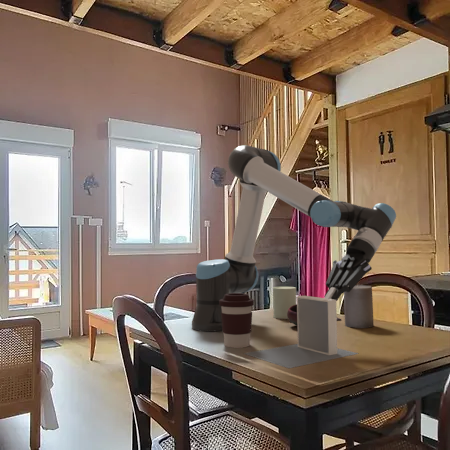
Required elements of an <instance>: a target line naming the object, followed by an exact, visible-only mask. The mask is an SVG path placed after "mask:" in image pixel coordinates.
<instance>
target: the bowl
mask: <svg viewBox="0 0 450 450" xmlns="http://www.w3.org/2000/svg"><path fill="white" fill-rule="evenodd" d="M287 317H288V319H287V320H288V321H289V322H290V323H291V324H292V325H295V326H297V303H296V305H293V306H291V307H290V308H289V309H288V312H287Z"/></svg>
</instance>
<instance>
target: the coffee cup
mask: <svg viewBox="0 0 450 450" xmlns="http://www.w3.org/2000/svg"><path fill="white" fill-rule="evenodd" d="M219 305H220V306H221V308H222V312H221V318H222V330H223V331H222V333H223V344H224V345H223V346H225V347H227V348H235V349H237V348H245V347H246V348H247V347H249V346H250V345H251V333H252V325H253V324H252V323H253V311H252V310H253V309H252V307H253V306H254V305H255V300H254V299H253V298H250V296H249V294H248V293H246V292H245V293H229V294H225V295H224V298H223V299H220V300H219Z"/></svg>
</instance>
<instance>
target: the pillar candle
mask: <svg viewBox="0 0 450 450" xmlns="http://www.w3.org/2000/svg"><path fill="white" fill-rule="evenodd" d="M348 287H349V286H348ZM343 300H344V301H343V302H344V305H343V306H344V308H343V309H344V325H345V327H347V328H356V329H368V328H371V327H372V328H373V327H374V304H373V303H374V302H373V300H374V299H373V288H372V286H371V285H365V284H364V285H363V284H361V285H360V284H359V282H358V283H357V284H356V285H355V286H354V287H353V289H352V290H351V291H350V292H344V293H343Z"/></svg>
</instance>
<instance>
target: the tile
mask: <svg viewBox="0 0 450 450" xmlns="http://www.w3.org/2000/svg"><path fill="white" fill-rule="evenodd" d="M296 304H297V325H296V326H297V344H298V347H300V348H304V349H308V350H311V351H315V352H319V353H323V354H326V355H334V354H337V348H338V321H337V318H338V317H337V316H338V315H337V312H338V311H337V301H336V300H334V299H327V298H325V297H319V296H318V297H317V296H310V295H309V296H308V295H299V296H298V295H296Z"/></svg>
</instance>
